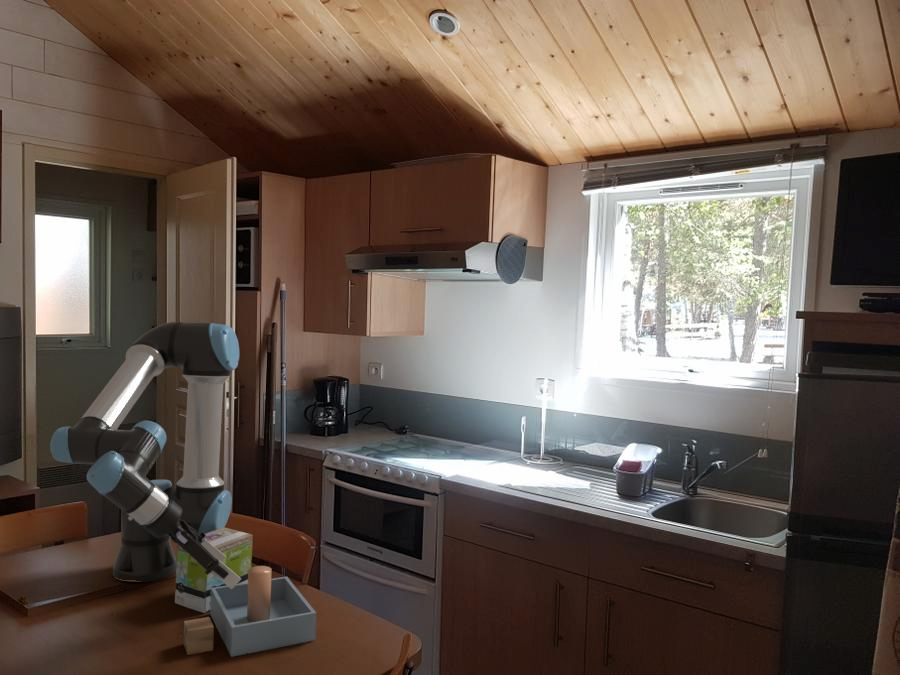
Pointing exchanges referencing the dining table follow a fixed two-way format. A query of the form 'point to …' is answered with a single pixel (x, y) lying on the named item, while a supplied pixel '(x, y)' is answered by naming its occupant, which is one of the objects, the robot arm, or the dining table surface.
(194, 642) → the block
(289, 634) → the tote
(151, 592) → the dining table surface
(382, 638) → the dining table surface
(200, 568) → the tea box
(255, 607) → the peach orange cylinder
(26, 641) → the dining table surface
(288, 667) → the dining table surface
